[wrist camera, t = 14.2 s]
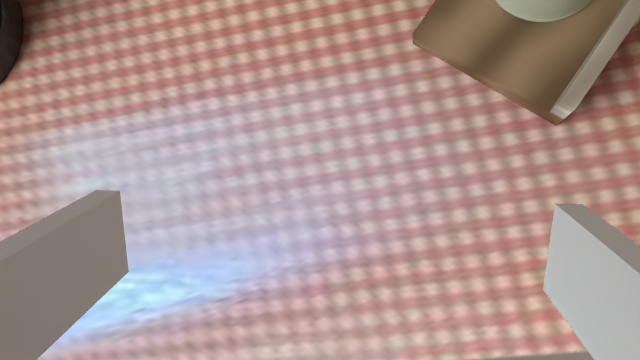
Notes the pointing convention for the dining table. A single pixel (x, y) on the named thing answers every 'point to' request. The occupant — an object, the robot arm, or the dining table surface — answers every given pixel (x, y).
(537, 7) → the can
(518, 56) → the shelf
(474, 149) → the dining table surface
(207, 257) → the dining table surface
